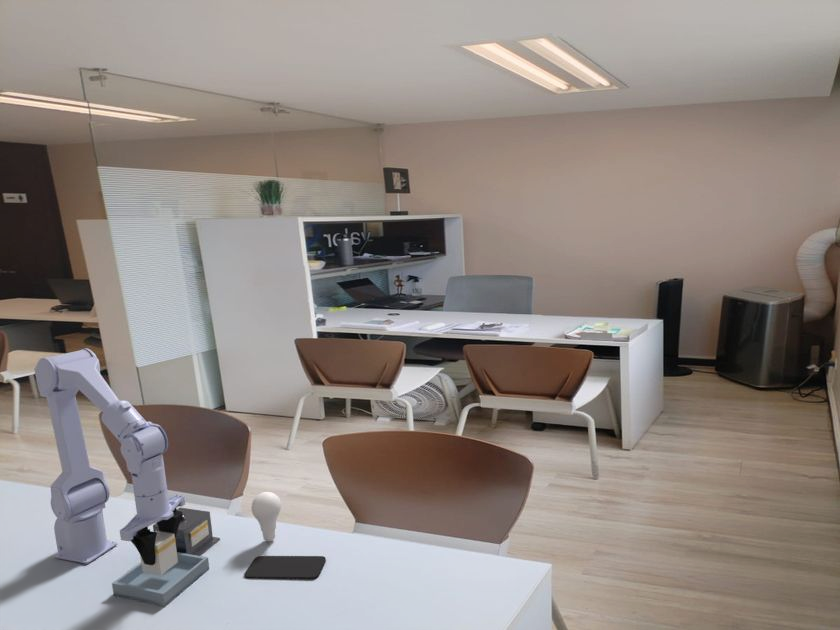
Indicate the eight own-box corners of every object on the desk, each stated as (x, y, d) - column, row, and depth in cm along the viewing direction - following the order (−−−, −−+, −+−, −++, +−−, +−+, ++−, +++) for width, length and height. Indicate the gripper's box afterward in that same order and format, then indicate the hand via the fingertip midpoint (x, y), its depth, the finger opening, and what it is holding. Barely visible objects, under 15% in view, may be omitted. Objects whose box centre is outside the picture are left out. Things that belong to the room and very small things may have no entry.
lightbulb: (276, 549, 128) (272, 500, 126) (250, 547, 129) (244, 499, 128) (288, 534, 134) (284, 487, 132) (263, 532, 135) (258, 486, 133)
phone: (256, 555, 126) (327, 555, 124) (256, 559, 126) (327, 559, 124) (241, 576, 118) (317, 577, 117) (242, 580, 119) (317, 581, 117)
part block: (142, 571, 117) (138, 542, 116) (159, 558, 121) (155, 530, 120) (161, 575, 115) (157, 545, 114) (178, 561, 120) (174, 533, 119)
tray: (113, 595, 115) (111, 583, 115) (160, 560, 126) (159, 548, 126) (165, 606, 111) (163, 594, 111) (209, 568, 122) (208, 557, 122)
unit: (149, 558, 127) (144, 524, 126) (183, 533, 137) (179, 502, 135) (188, 565, 124) (184, 530, 123) (220, 540, 133) (216, 507, 132)
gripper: (137, 510, 107) (147, 581, 110) (193, 476, 121) (201, 539, 123) (107, 506, 110) (117, 575, 112) (165, 472, 123) (173, 535, 126)
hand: (159, 556), depth 118 cm, fingers closed on part block, 4 cm apart
